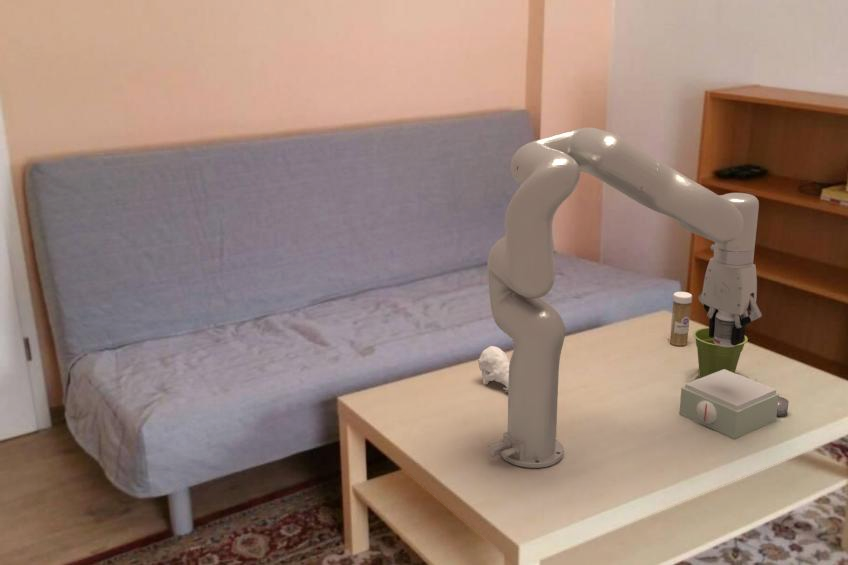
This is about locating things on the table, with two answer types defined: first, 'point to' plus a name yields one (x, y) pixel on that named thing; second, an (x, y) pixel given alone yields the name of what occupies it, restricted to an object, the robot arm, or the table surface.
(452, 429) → the table surface
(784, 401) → the spacer
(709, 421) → the scale
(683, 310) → the sprinkles bottle
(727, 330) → the pill bottle
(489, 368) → the white lumpy rounded piece
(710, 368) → the plant pot
